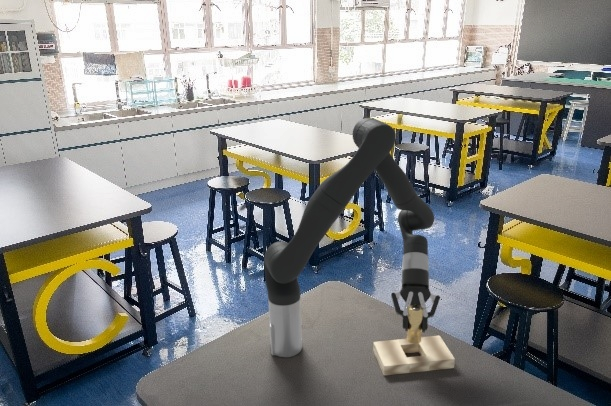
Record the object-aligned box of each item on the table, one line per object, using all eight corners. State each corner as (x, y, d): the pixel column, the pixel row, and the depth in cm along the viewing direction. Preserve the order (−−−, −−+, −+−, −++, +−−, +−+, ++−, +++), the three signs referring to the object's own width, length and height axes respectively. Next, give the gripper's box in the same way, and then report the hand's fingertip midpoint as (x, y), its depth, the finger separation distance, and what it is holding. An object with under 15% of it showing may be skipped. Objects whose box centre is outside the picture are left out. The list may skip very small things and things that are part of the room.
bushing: (409, 344, 134) (411, 313, 131) (404, 335, 138) (406, 305, 135) (423, 342, 135) (425, 311, 131) (418, 334, 139) (420, 303, 135)
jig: (383, 375, 132) (384, 366, 131) (373, 350, 143) (373, 341, 142) (454, 367, 135) (454, 358, 134) (438, 343, 145) (439, 335, 144)
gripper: (390, 265, 138) (388, 326, 131) (442, 268, 136) (443, 330, 129) (390, 273, 145) (388, 332, 138) (439, 276, 142) (440, 335, 135)
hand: (415, 331), depth 133 cm, fingers closed on bushing, 4 cm apart
